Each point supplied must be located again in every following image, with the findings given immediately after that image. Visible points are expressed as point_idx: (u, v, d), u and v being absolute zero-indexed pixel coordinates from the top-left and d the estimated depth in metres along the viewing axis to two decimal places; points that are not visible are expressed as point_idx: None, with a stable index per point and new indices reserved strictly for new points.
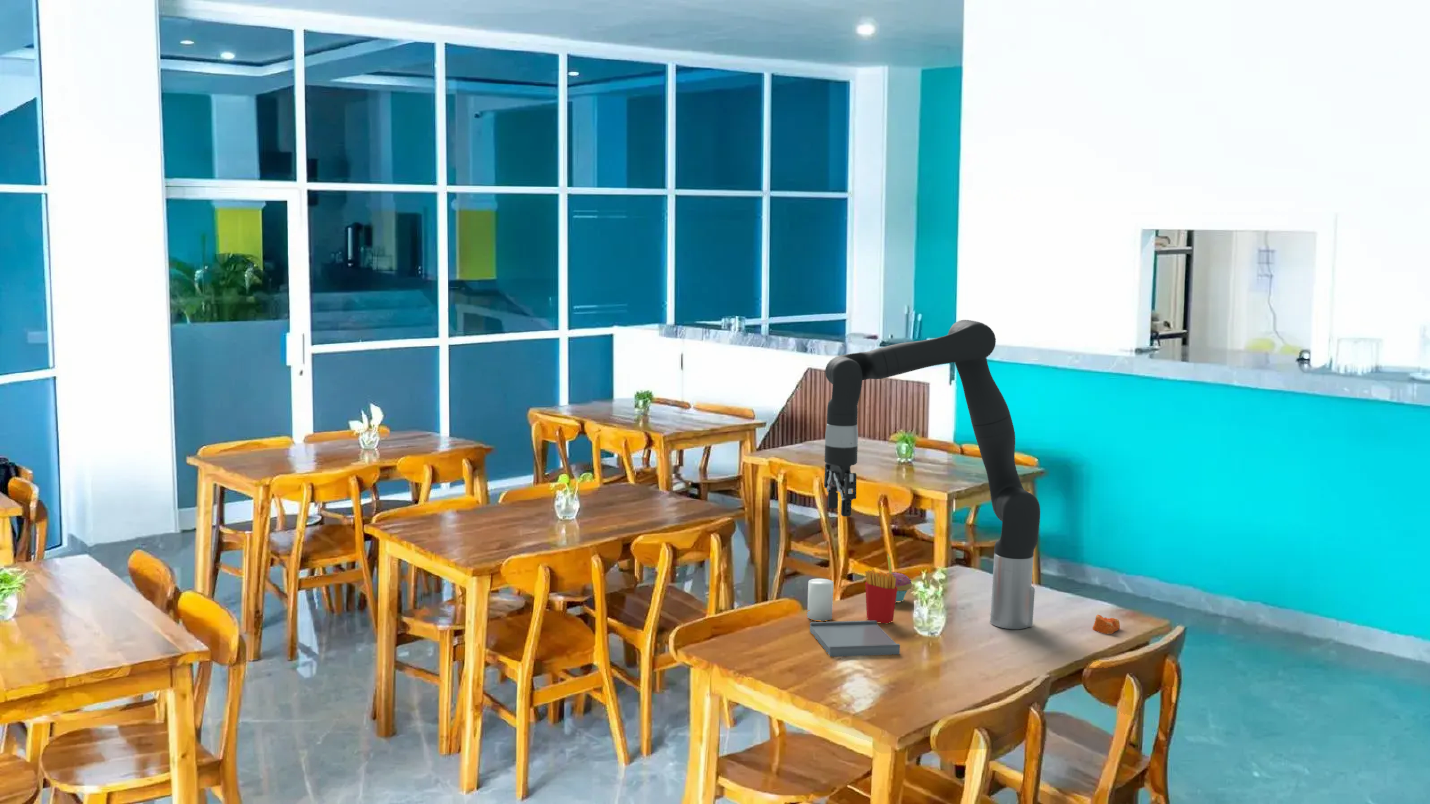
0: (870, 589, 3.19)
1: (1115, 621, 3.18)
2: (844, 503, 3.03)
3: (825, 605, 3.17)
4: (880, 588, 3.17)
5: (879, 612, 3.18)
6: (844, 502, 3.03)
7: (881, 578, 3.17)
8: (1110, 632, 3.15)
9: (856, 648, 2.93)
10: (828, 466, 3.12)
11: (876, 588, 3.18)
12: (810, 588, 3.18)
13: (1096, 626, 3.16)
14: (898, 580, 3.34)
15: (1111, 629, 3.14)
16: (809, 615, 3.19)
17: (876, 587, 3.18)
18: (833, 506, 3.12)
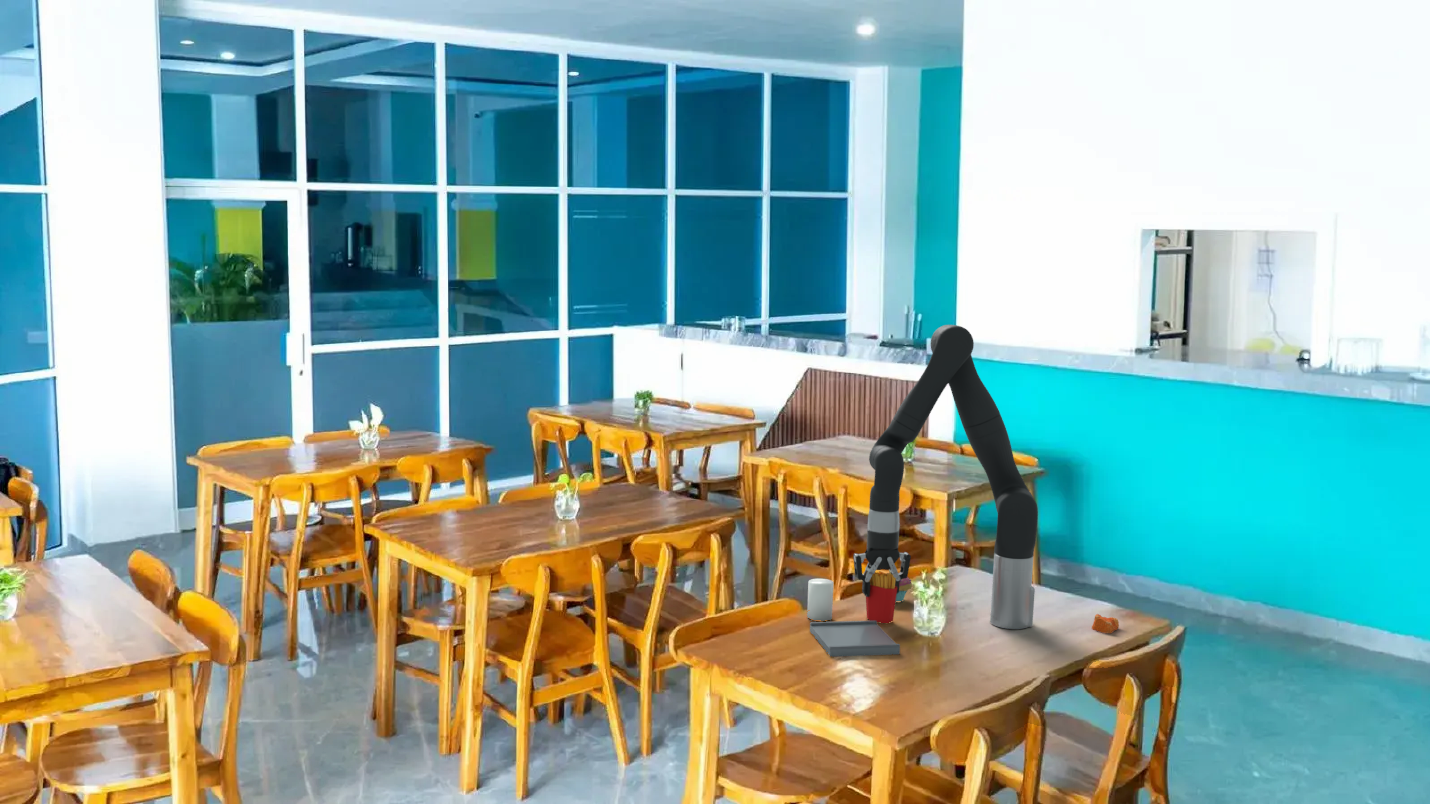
0: (870, 589, 3.19)
1: (1114, 620, 3.18)
2: (898, 583, 3.19)
3: (825, 605, 3.17)
4: (880, 588, 3.17)
5: (879, 612, 3.18)
6: (898, 582, 3.19)
7: (881, 578, 3.17)
8: (1109, 631, 3.15)
9: (856, 648, 2.93)
10: (860, 557, 3.16)
11: (876, 588, 3.18)
12: (810, 588, 3.18)
13: (1095, 625, 3.17)
14: None
15: (1110, 628, 3.15)
16: (809, 615, 3.19)
17: (876, 587, 3.18)
18: None
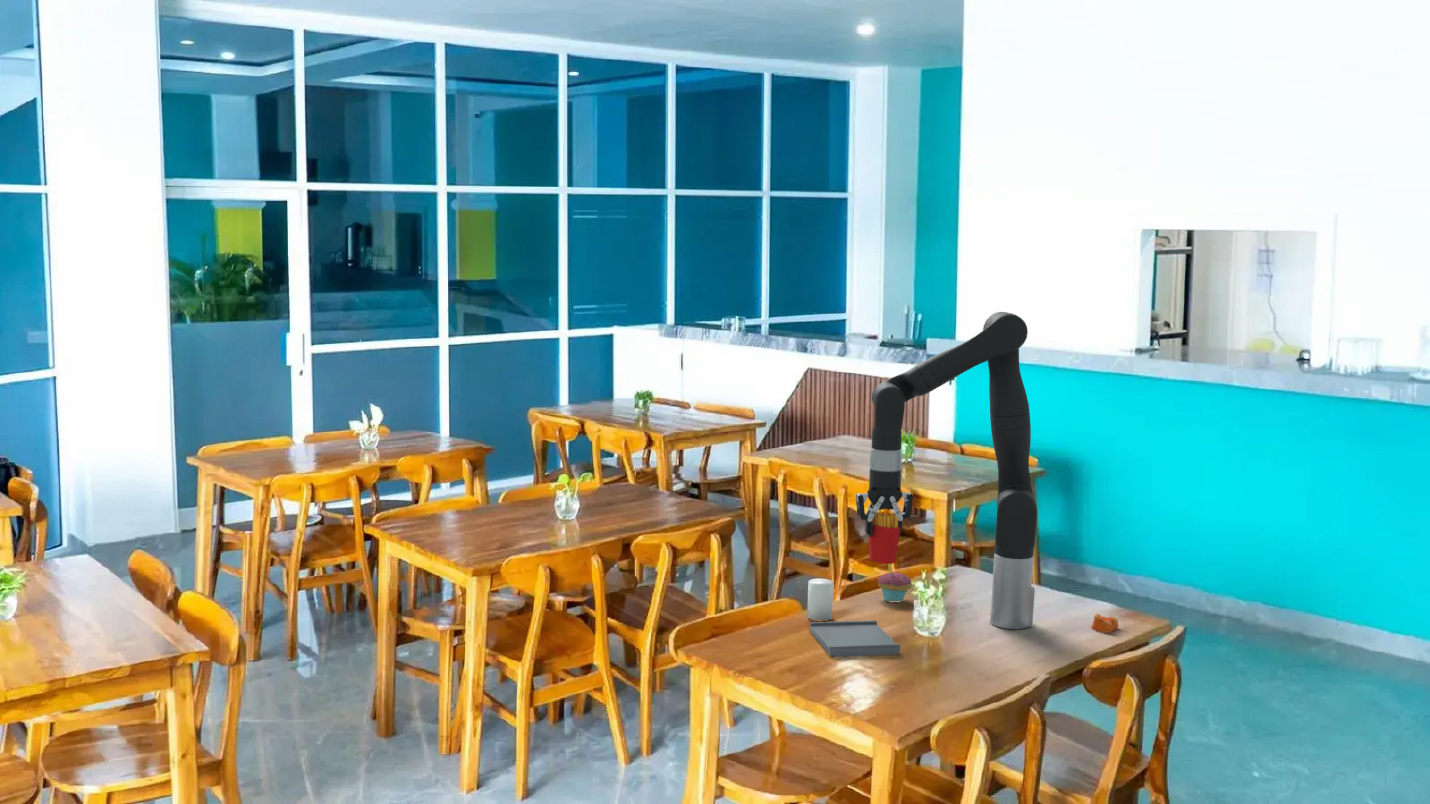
0: (873, 529, 3.17)
1: (1113, 620, 3.18)
2: (900, 523, 3.17)
3: (825, 605, 3.17)
4: (883, 528, 3.15)
5: (881, 552, 3.16)
6: (900, 522, 3.17)
7: (883, 518, 3.15)
8: (1109, 631, 3.15)
9: (856, 648, 2.93)
10: (862, 496, 3.14)
11: (879, 528, 3.16)
12: (810, 588, 3.18)
13: (1095, 625, 3.17)
14: (898, 580, 3.34)
15: (1110, 628, 3.15)
16: (809, 615, 3.19)
17: (879, 527, 3.16)
18: None
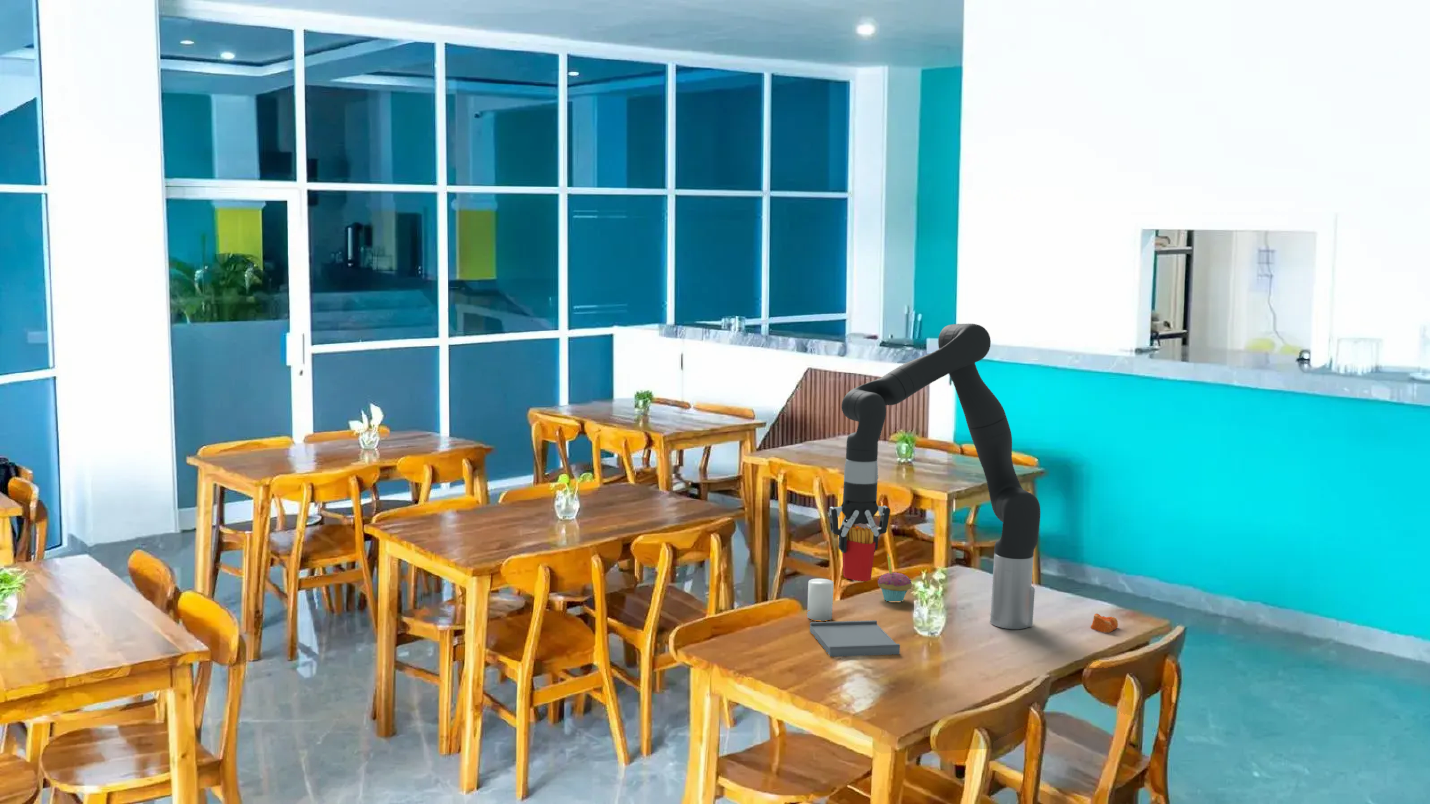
0: None
1: (1113, 620, 3.19)
2: (876, 538, 3.00)
3: (825, 605, 3.17)
4: (857, 543, 2.97)
5: (856, 569, 2.98)
6: (876, 537, 3.00)
7: (858, 533, 2.97)
8: (1108, 631, 3.16)
9: (856, 648, 2.93)
10: None
11: (853, 543, 2.98)
12: (810, 588, 3.18)
13: (1094, 625, 3.17)
14: (898, 580, 3.34)
15: (1109, 628, 3.15)
16: (809, 615, 3.19)
17: (853, 542, 2.98)
18: None
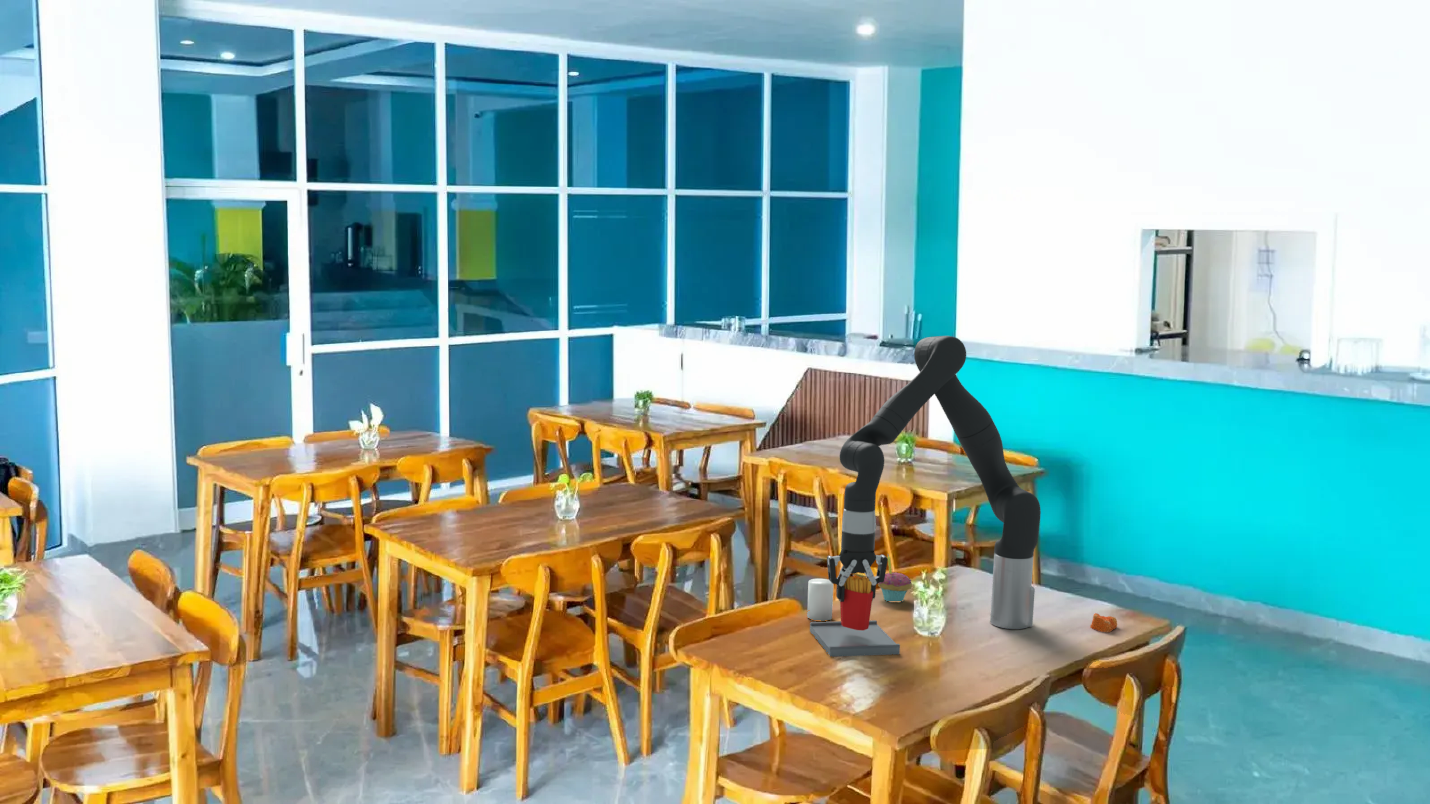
0: (844, 593, 3.01)
1: (1112, 619, 3.19)
2: (874, 587, 3.01)
3: (825, 605, 3.17)
4: (855, 592, 2.99)
5: (853, 617, 3.00)
6: (874, 586, 3.01)
7: (856, 582, 2.99)
8: (1108, 630, 3.16)
9: (856, 648, 2.93)
10: (834, 560, 2.98)
11: (850, 592, 3.00)
12: (810, 588, 3.18)
13: (1094, 624, 3.18)
14: (898, 580, 3.34)
15: (1109, 627, 3.16)
16: (809, 615, 3.19)
17: (850, 591, 3.00)
18: None
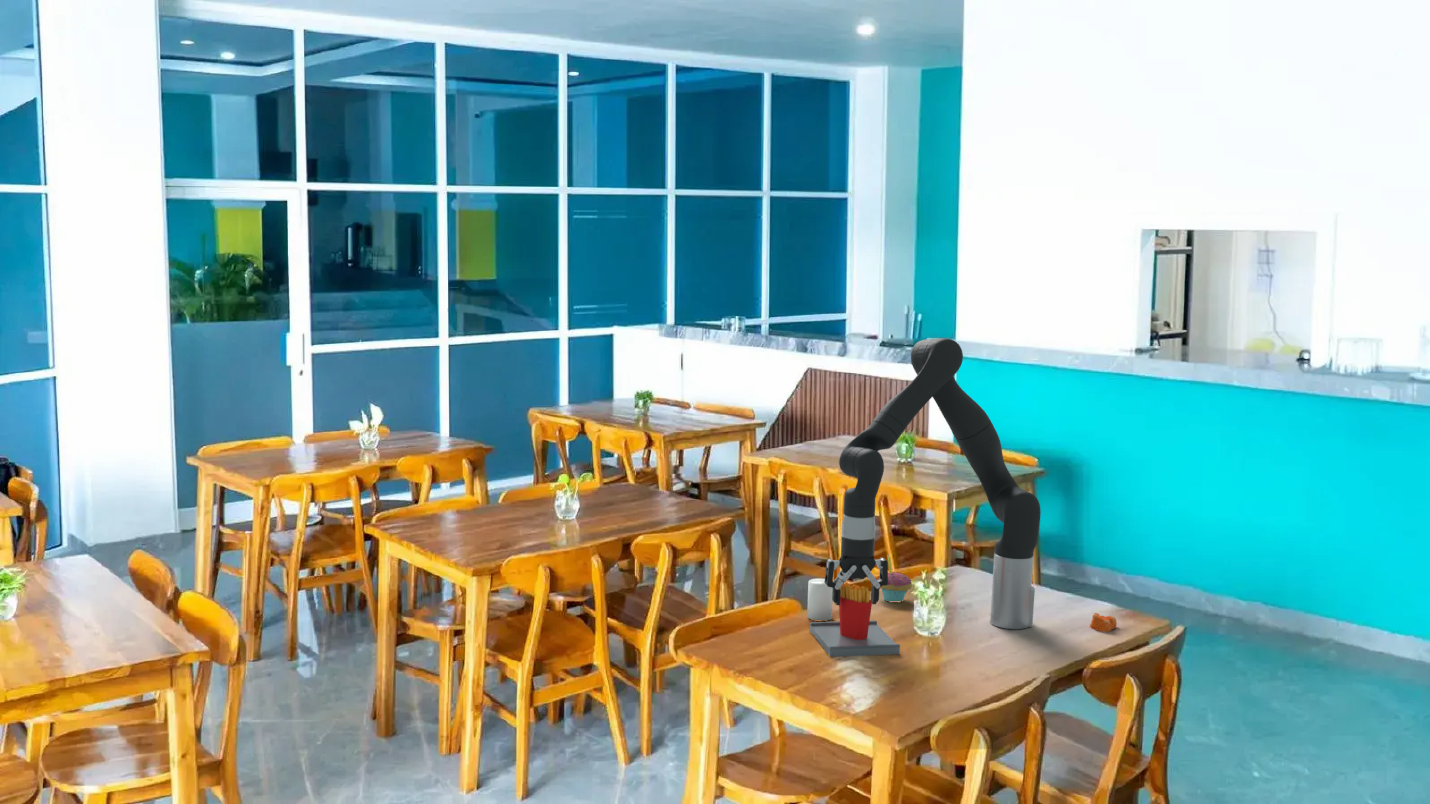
0: (843, 603, 3.01)
1: (1112, 619, 3.19)
2: (877, 590, 3.01)
3: (825, 605, 3.17)
4: (854, 602, 2.99)
5: (852, 627, 3.00)
6: (877, 589, 3.01)
7: (855, 591, 2.99)
8: (1107, 630, 3.16)
9: (856, 648, 2.93)
10: None
11: (849, 602, 3.00)
12: (810, 588, 3.18)
13: (1093, 624, 3.18)
14: (898, 580, 3.34)
15: (1108, 627, 3.16)
16: (809, 615, 3.19)
17: (849, 601, 3.00)
18: None
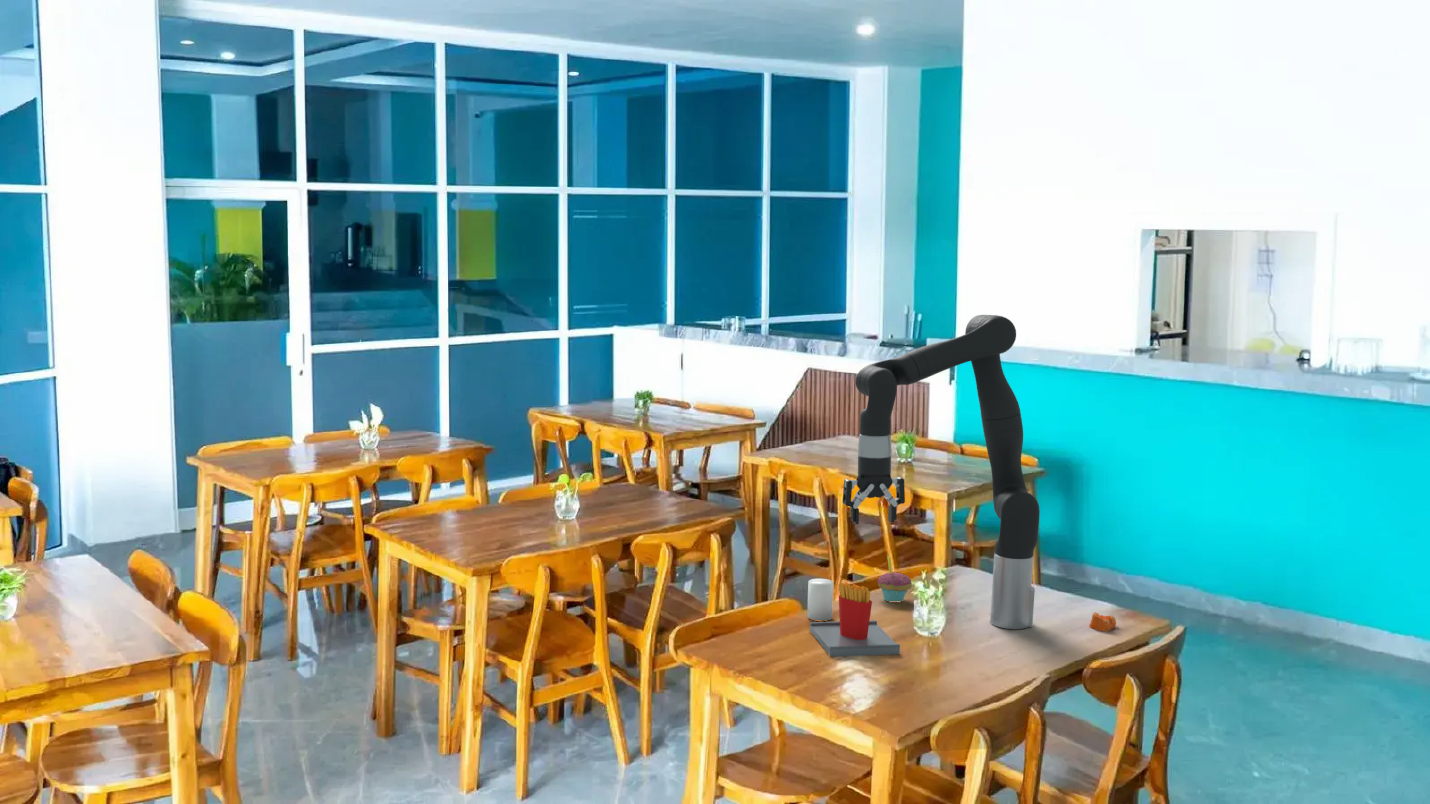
0: (843, 603, 3.01)
1: (1111, 619, 3.20)
2: (895, 509, 3.05)
3: (825, 605, 3.17)
4: (853, 602, 2.99)
5: (852, 627, 3.00)
6: (895, 508, 3.05)
7: (855, 591, 2.99)
8: (1107, 630, 3.16)
9: (856, 648, 2.93)
10: None
11: (849, 602, 3.00)
12: (810, 588, 3.18)
13: (1093, 624, 3.18)
14: (898, 580, 3.34)
15: (1108, 627, 3.16)
16: (809, 615, 3.19)
17: (849, 601, 3.00)
18: None
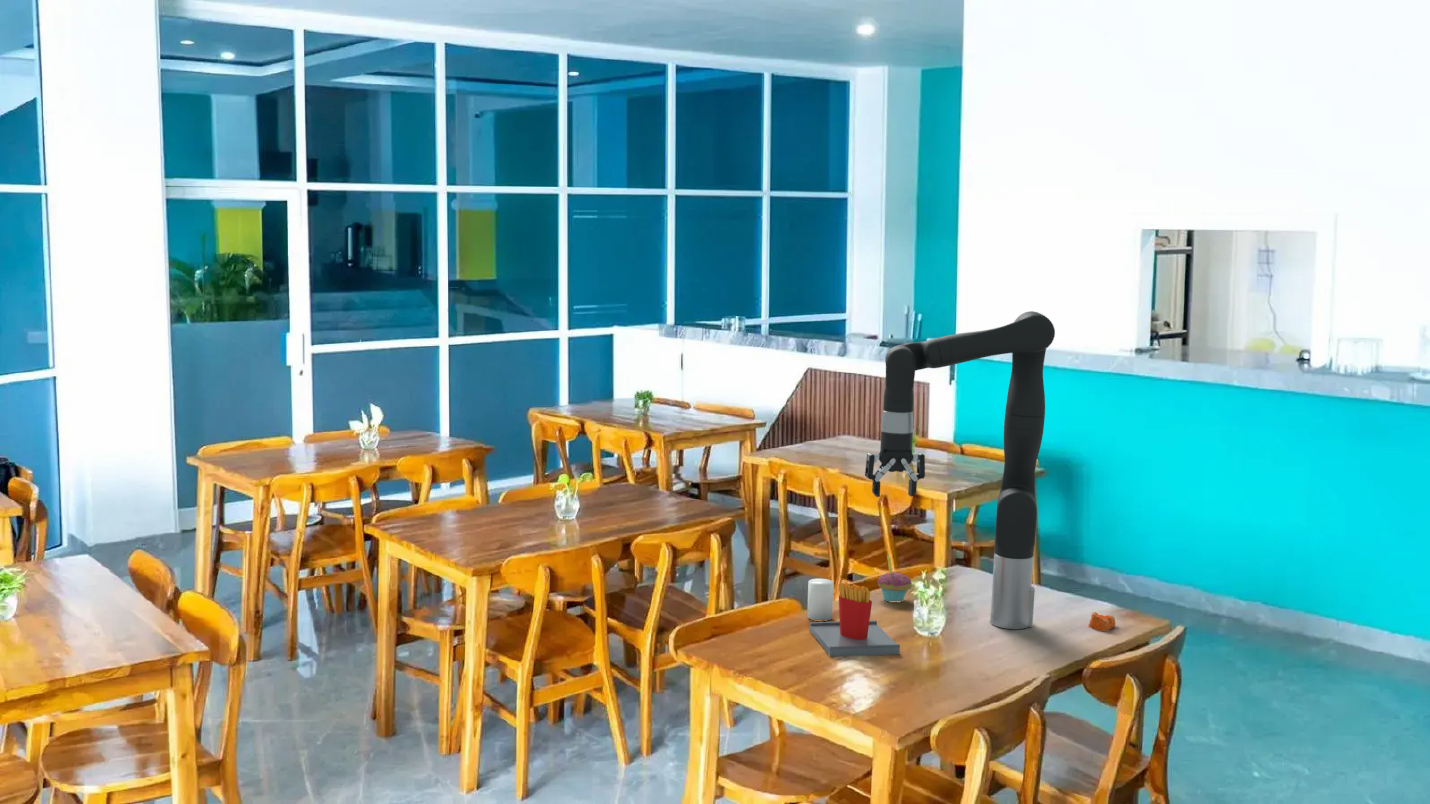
0: (843, 603, 3.01)
1: (1111, 618, 3.20)
2: (915, 483, 3.18)
3: (825, 605, 3.17)
4: (853, 602, 2.99)
5: (852, 627, 3.00)
6: (915, 482, 3.18)
7: (855, 591, 2.99)
8: (1106, 629, 3.17)
9: (856, 648, 2.93)
10: None
11: (849, 602, 3.00)
12: (810, 588, 3.18)
13: (1092, 623, 3.18)
14: (898, 580, 3.34)
15: (1107, 626, 3.16)
16: (809, 615, 3.19)
17: (849, 601, 3.00)
18: None
